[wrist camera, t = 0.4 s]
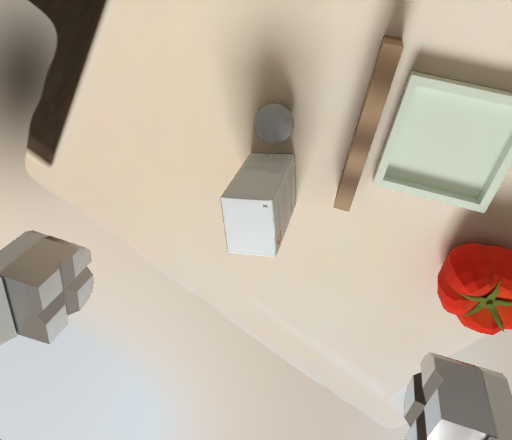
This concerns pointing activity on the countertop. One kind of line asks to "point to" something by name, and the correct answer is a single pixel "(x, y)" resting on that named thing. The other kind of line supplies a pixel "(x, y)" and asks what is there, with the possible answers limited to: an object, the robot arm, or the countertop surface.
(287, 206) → the small box
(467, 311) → the tomato
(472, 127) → the dish
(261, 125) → the ball
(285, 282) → the countertop surface
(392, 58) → the rail
